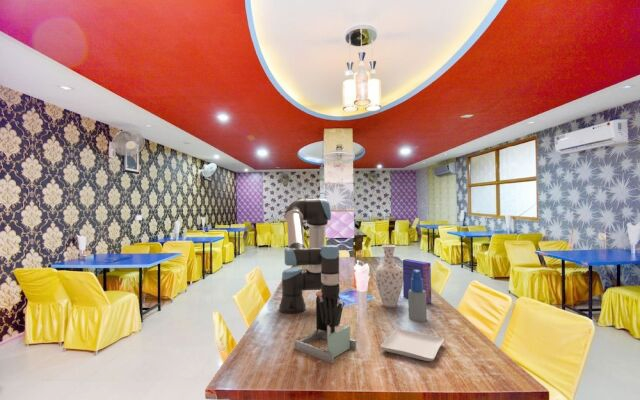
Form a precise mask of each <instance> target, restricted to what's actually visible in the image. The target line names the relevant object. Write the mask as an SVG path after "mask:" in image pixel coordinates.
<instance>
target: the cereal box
mask: <svg viewBox="0 0 640 400" xmlns="http://www.w3.org/2000/svg"><path fill="white" fill-rule="evenodd" d="M431 267H432V265H431V262H427V261H421V260H414V259H403V260H402V271H403V286H402V291H403V293H402V294H403V298H404V297H405V299H408V292H409V289H411V278H412V275H413V270H420V275H421V278H422V279H423V290H425V291H426V305H428V304H431V303H432V273H431V272H432V271H431V269H432V268H431Z"/></svg>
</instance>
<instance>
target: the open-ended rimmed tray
mask: <svg viewBox="0 0 640 400" xmlns="http://www.w3.org/2000/svg"><path fill="white" fill-rule="evenodd" d="M319 339H322V340H326V341H328V339H327V332H326V331H325V330H322V329H318V331H317V332H314V333H312V334H310V335H307V336H306V337H304V338H301V339H300V340H298V339H295V340H294V350H297V351H299V352H302V353H304V354H306V355H309V356H311V357H314V358H316V359H319V360H321V361H324V362H327V363H329V364H332V365H333V364H334V363H335V357H334V354H333V353H331V352H328V350H325V349H323V348H320V347H316V346H314V345H312V344H311V343H313V342H315V341H317V340H319ZM349 349H351V350H354V351H356V350H357V340H356V339H354V338H350V348H349Z"/></svg>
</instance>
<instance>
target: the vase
mask: <svg viewBox="0 0 640 400" xmlns="http://www.w3.org/2000/svg"><path fill="white" fill-rule="evenodd" d="M380 247H381V248H382V249H383V253H384V258H383V262H382V264H380V265H378V266H377V268H376V269H375V281H376V288H377V290H378V295H379V297H380V299H381V302H382V306H383V307H386V308H396V307H398V302H399V299H400V295H401V292H402V290H403V268H402V267H401V266H400V265H398V264H396V262H395V259H394V254H395V248H396V247H397V245H394V244H392V245H391V244H384V245H381V246H380Z"/></svg>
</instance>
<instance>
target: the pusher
mask: <svg viewBox="0 0 640 400" xmlns="http://www.w3.org/2000/svg"><path fill="white" fill-rule="evenodd" d="M350 339H351V326H350V325H345V326H344V324H343V323H340V324H339V325H337V326H335V332H334V333H332V334H330V335H328V340H327V351H328V352H331V353H333V354H334V358H336V357H338V356H339V355H341V354H343V353H344V352H346V351H347V350H349V349H351V348H350Z"/></svg>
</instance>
